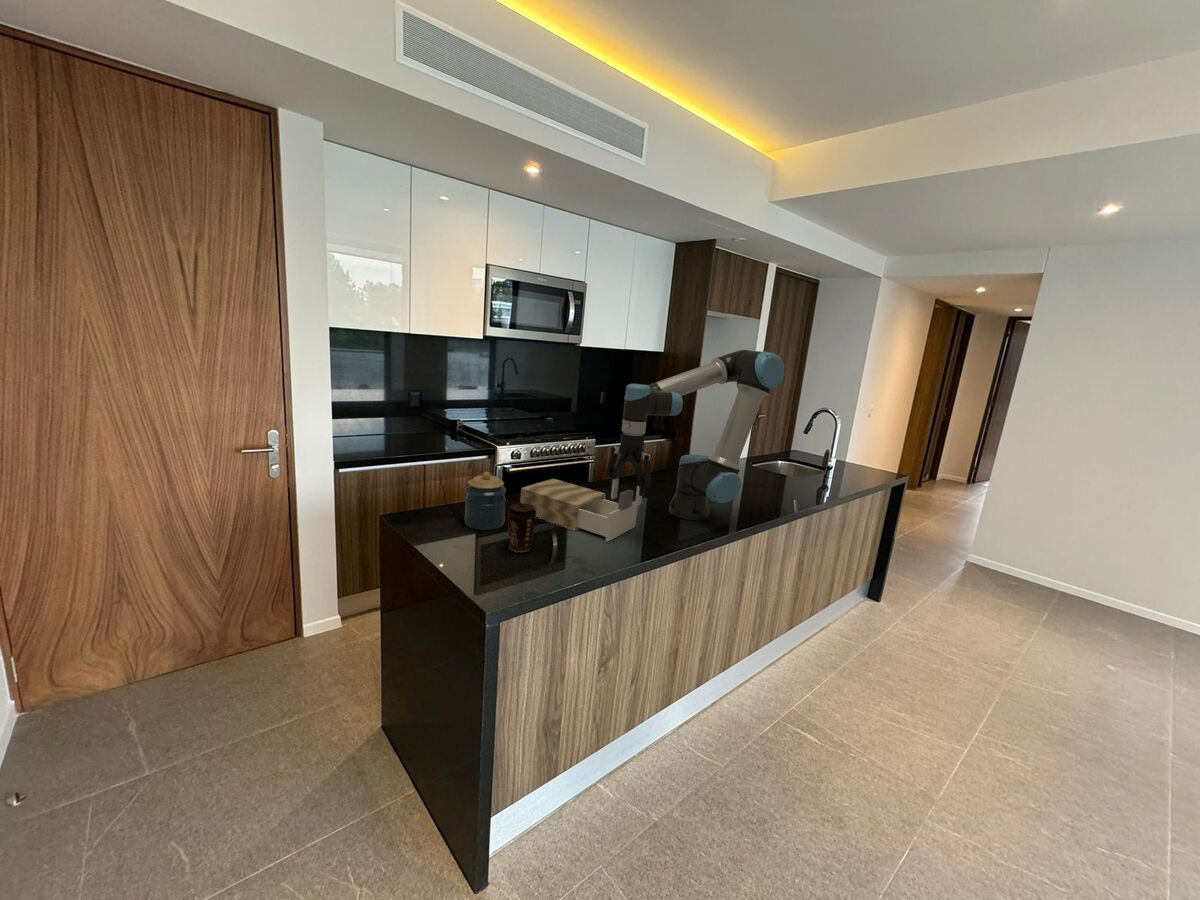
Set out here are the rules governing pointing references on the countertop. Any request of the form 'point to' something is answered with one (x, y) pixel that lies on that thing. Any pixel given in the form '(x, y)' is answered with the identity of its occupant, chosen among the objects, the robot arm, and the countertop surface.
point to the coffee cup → (521, 526)
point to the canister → (485, 503)
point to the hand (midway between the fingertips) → (625, 501)
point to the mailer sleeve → (558, 501)
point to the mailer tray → (608, 516)
